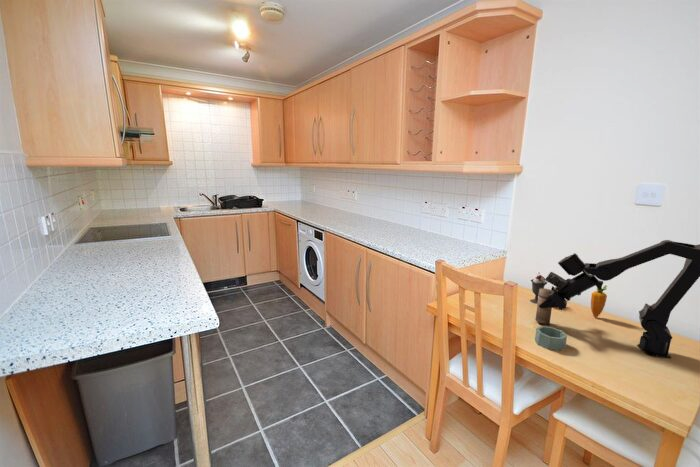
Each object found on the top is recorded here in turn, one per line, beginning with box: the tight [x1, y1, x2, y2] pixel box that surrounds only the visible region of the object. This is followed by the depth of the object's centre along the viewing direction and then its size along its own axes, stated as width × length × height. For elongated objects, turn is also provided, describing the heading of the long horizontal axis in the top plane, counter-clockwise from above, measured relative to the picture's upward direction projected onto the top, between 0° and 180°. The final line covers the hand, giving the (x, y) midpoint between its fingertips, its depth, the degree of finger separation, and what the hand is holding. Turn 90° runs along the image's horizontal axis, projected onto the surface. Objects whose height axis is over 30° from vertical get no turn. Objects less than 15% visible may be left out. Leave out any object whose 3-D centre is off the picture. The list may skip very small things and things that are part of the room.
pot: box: [534, 325, 568, 352], centre depth 112 cm, size 9×9×4 cm
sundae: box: [529, 273, 548, 305], centre depth 147 cm, size 7×7×15 cm
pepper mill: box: [535, 287, 553, 325], centre depth 126 cm, size 5×5×13 cm
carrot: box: [590, 285, 608, 319], centre depth 131 cm, size 5×5×15 cm
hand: (540, 304), depth 127 cm, fingers closed on pepper mill, 5 cm apart
